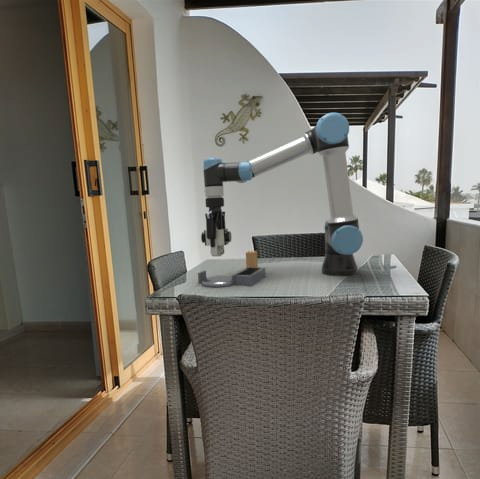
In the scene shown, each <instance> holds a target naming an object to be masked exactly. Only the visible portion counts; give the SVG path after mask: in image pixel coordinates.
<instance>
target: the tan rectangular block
mask: <svg viewBox="0 0 480 479" xmlns="http://www.w3.org/2000/svg"><path fill="white" fill-rule="evenodd" d="M258 263H259V262H258V251H257V250H254V251H253V250H252V251H251V250H249V251H247V252H245V264H246V265H245V266H246V267H258V266H259V265H258ZM246 267H245V268H246Z"/></svg>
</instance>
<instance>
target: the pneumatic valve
mask: <svg viewBox="0 0 480 479" xmlns="http://www.w3.org/2000/svg"><path fill="white" fill-rule="evenodd" d="M200 236H201V237H200V239H201V240H200V241H201V243H203V244H204V246H208V247H209V246H210V239H207V229H205V230H203V232H201V235H200ZM216 239H217V250H218V255H211V256H212V257H222V256H223V255H224V254H225V248H224V249H223V248H222V247H220V246H221V245H224V246H227V245H229V243H231V242H232V233H231V231H230V230H229V228H226V229H217V227H216ZM210 247H211V246H210Z"/></svg>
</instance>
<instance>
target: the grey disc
mask: <svg viewBox="0 0 480 479" xmlns="http://www.w3.org/2000/svg"><path fill="white" fill-rule="evenodd" d="M232 275H234V276H237V275H241V272H239V271H237V272H236V273H234V274H232ZM232 275H212V276H208V277H207V270H202V271H200V272H197V280H198V281H197V282H198V284H199V285H200V284H201V286H202V287H205V288H210V289H211V288H218V289H219V288H227V287H231V286H237V285H236V284H235V285H233V282H232ZM234 278H235V277H234ZM234 282H235V279H234ZM235 283H236V282H235Z"/></svg>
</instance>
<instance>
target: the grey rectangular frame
mask: <svg viewBox="0 0 480 479" xmlns="http://www.w3.org/2000/svg"><path fill="white" fill-rule="evenodd" d="M238 272H241V275H237V276H234V275H233V274H231V276H232V282H233V285H232V286H239V287H240V286H242V287H252V286H255V285H256V284H257V283H258V282H261V281H262V280H263V279H265V278H266V277H267V276H266V272H267V271H266V267H261V266H260V267H244V268H242V269H241V270H239V271H238ZM234 277H235V278H234ZM234 279H235V282H236V283H235V282H234ZM235 284H236V285H235Z"/></svg>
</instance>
